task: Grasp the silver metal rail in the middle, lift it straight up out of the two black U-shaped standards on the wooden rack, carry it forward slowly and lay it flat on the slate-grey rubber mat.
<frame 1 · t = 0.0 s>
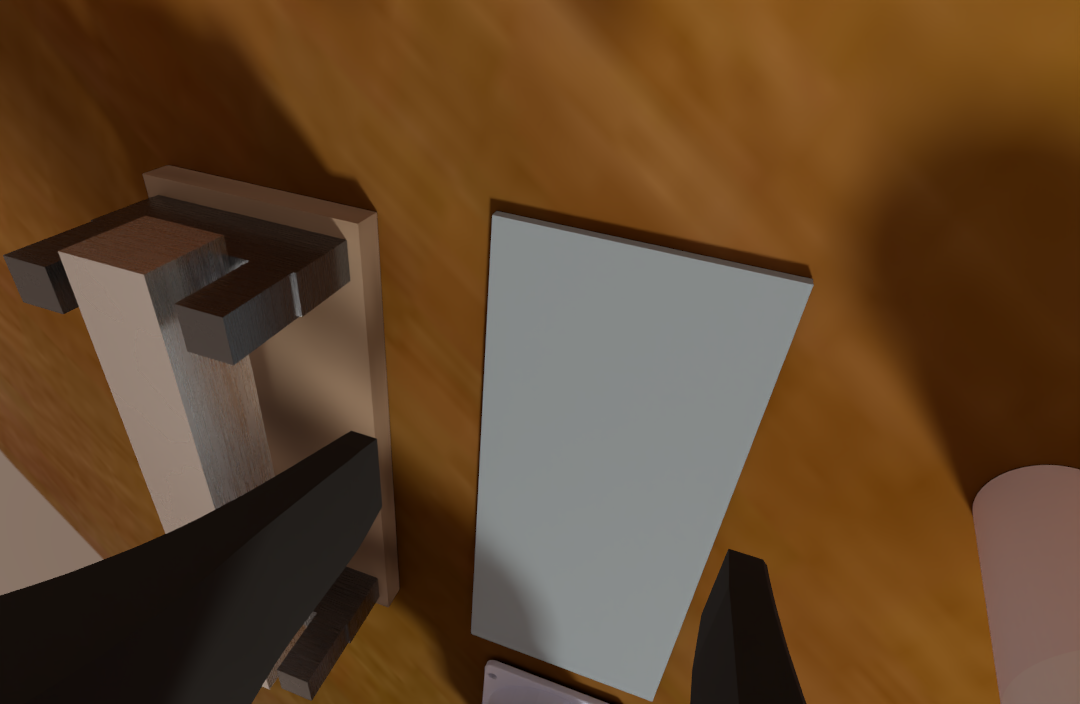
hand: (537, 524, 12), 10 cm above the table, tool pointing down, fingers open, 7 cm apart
rail: (245, 472, 26), point 4 cm above the table, touching rack
rack: (304, 415, 29), on the table
smoothie: (1039, 505, 20), on the table
mat: (592, 505, 26), on the table
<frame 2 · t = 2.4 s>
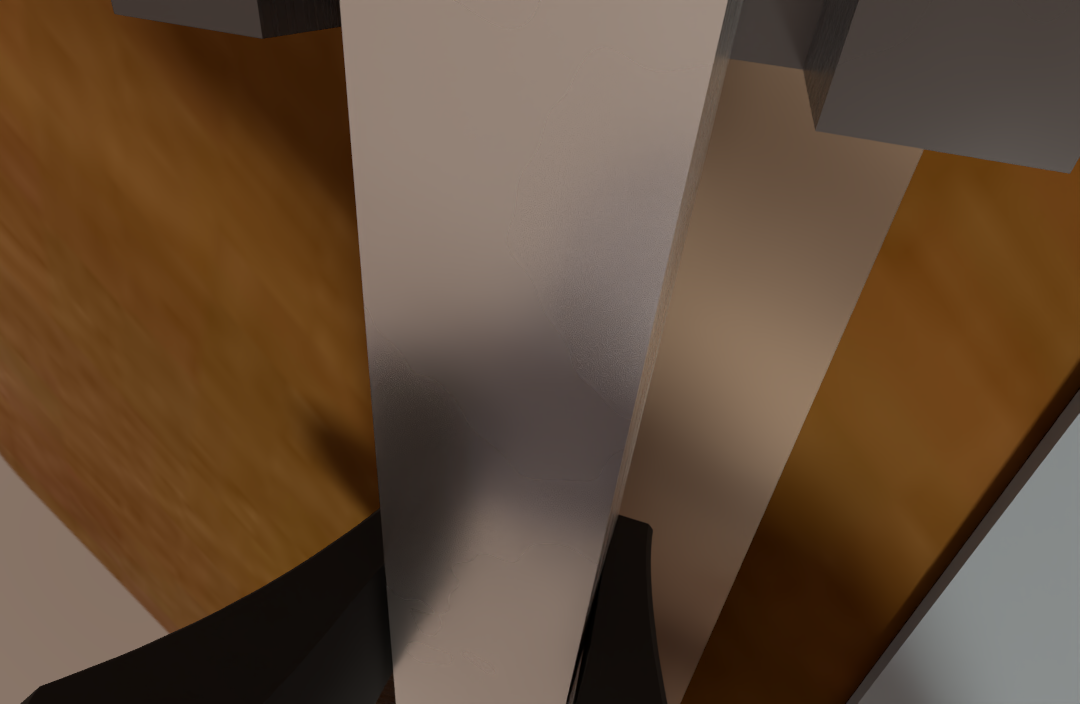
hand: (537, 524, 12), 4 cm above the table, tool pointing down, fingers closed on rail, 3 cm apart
rail: (535, 528, 12), point 4 cm above the table, touching gripper, rack
rack: (586, 409, 15), on the table
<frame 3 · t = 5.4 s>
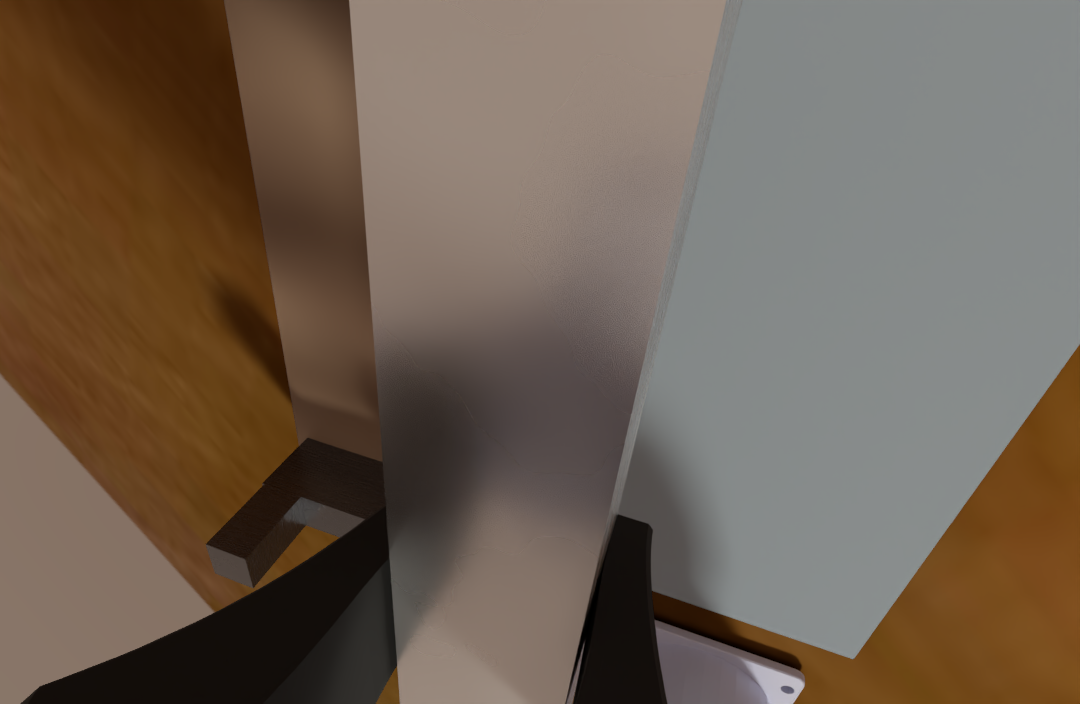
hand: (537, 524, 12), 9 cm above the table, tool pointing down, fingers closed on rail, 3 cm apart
rail: (537, 523, 12), point 9 cm above the table, touching gripper
rack: (401, 259, 21), on the table
mat: (830, 365, 18), on the table
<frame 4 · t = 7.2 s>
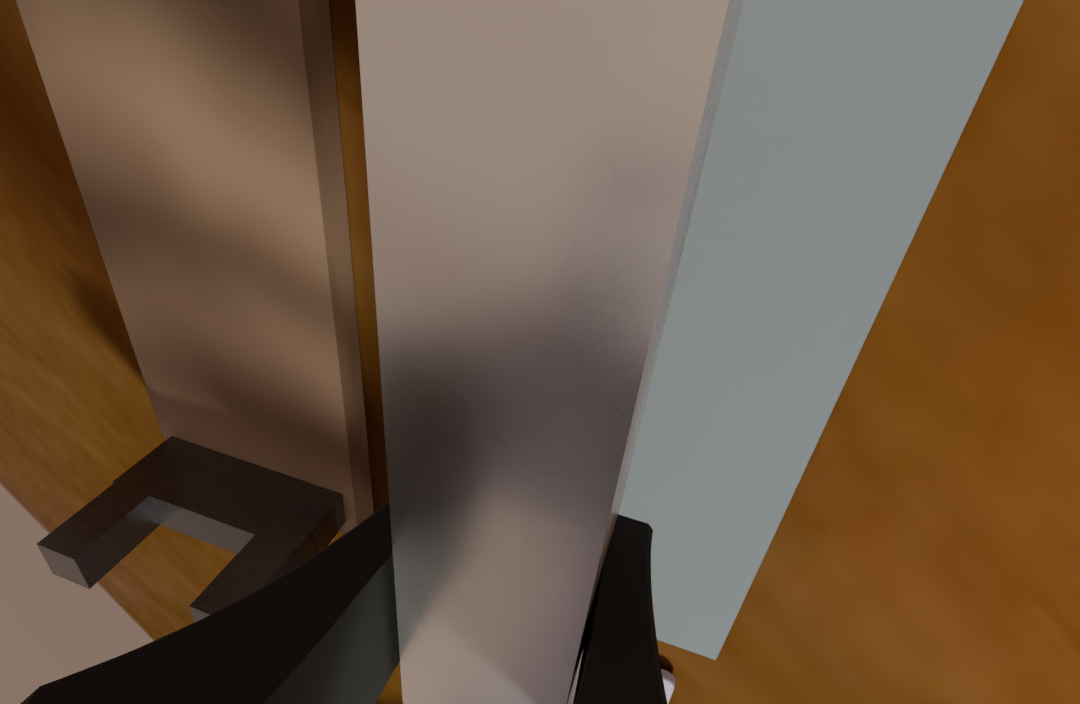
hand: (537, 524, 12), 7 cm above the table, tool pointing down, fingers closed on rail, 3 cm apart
rail: (538, 523, 12), point 7 cm above the table, touching gripper
rack: (234, 252, 20), on the table
mat: (647, 357, 18), on the table
when the fingers open (2 cm above the table, at t = 8.5 s): rail drops 2 cm, resting on mat.
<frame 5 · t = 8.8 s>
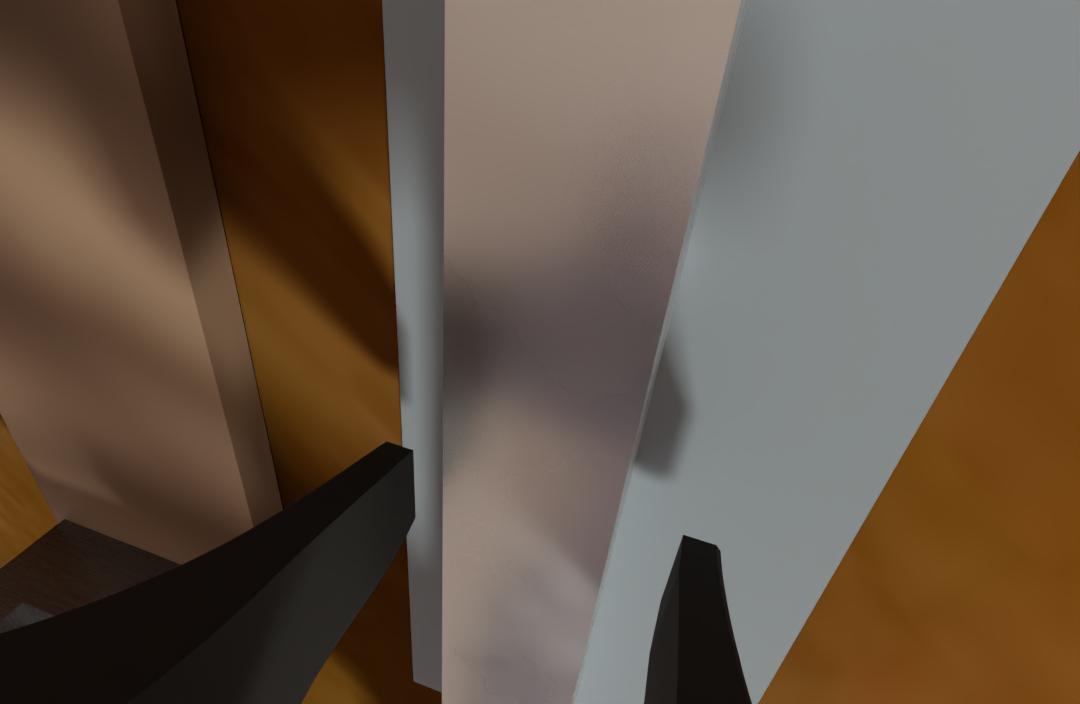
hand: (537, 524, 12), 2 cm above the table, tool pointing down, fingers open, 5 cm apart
rail: (562, 469, 14), resting on mat
rack: (111, 317, 17), on the table
mat: (610, 465, 14), on the table
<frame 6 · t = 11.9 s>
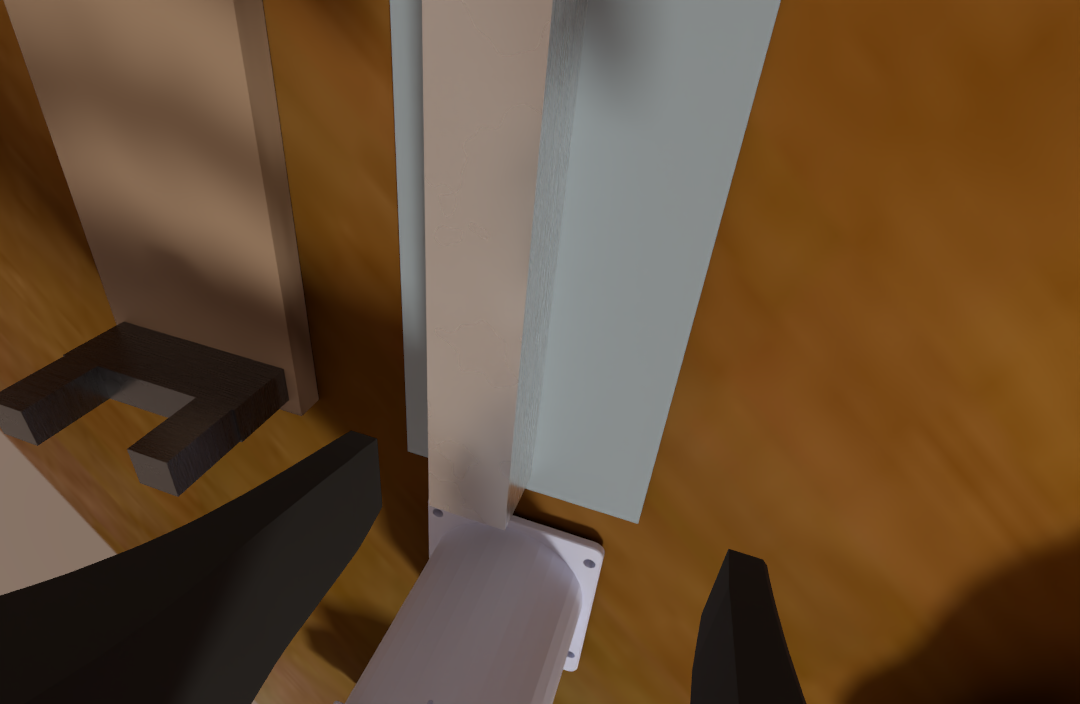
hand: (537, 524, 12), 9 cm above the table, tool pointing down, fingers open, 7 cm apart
rail: (515, 202, 19), resting on mat
rack: (172, 122, 22), on the table
mat: (550, 200, 19), on the table
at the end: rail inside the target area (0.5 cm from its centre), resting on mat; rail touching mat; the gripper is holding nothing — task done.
